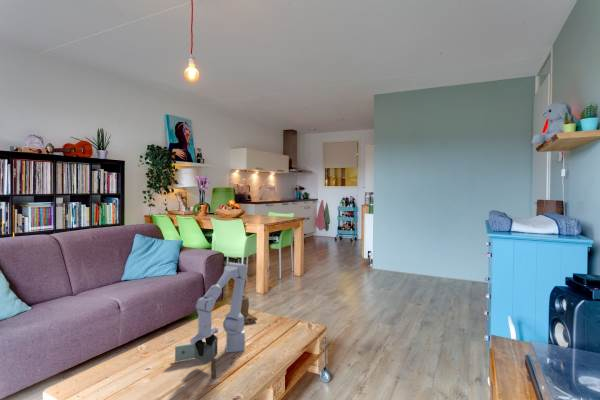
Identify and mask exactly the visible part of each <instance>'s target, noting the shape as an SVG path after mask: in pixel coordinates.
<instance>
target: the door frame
mask: <svg viewBox="0 0 600 400" xmlns="http://www.w3.org/2000/svg"><path fill="white" fill-rule="evenodd" d="M215 336H216V338H215V340H217V343H216V355H218V339H219V338H218V337H219V336H217V335H215ZM216 379H217V358H216V357H215V358H214V359H211V361H210V380H216Z"/></svg>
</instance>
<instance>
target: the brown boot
mask: <svg viewBox="0 0 600 400" xmlns="http://www.w3.org/2000/svg"><path fill="white" fill-rule="evenodd" d="M249 308H250V300H249V297H248V296H247V295H244V294H243V298H242V304H241V311H240V313H241V314H242V315H243V316H244V324H252V323H254V322H256V321H257V320H258V317H256V316H254V315H253V314H251V313H249Z"/></svg>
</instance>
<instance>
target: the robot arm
mask: <svg viewBox="0 0 600 400" xmlns="http://www.w3.org/2000/svg"><path fill="white" fill-rule="evenodd" d="M223 269H224V270H223V273H222V275H221V276H220V277H219V279H218V281H217V282H216V284H212V285H211V286H210V287H209V289H207V291H206V292H205V294H203V296H202V297H200V298H199V297H198V299H197V301H196V303H195V305H194V306H195V309H196V310H197V311H196V312H197V314H198V315H197V316H198V319H197V320H198V321H197V322H198V323H197V324H198V325H197V326H198V327H197V328H198V331H197V333H196V334H195V335H194V336H193V337H192V338H190V343H189V344H195V346H196V348H197V351H198V355H199V356H203V349H204V344H205V342H204V341H206V344H207V345H210V346H212V345H213V342H214V340H215V338H216V336H217V335H215V334H218V333H219V328H217V327H213V328H212V311H213V310H214V308H215V304H216V301H217V299H218V298H219V297H220V295H221V294H222V293H223V292H222V291H223V288H224V287H225V285H227V283H229V281H230V280H231V279H233V280H234V284H233V290H232V296H231V302H230V308H229V309H230V310H229V312H228V313H226V314H225V318H224V319H223V324H222V327H223V329H224V331H225V333H226V340H225V342H226V344H225V353H235V352H245V349H246V348H245V347H246V337H245V336H246V335H245V334H246V332H245V330H244V329H245V323H244V316H243V315H242V314H241V313H240V311H241V304H242V298H243V295H244V291H245V285H246V284H245V282H246V280H247V275H248V274H247V273H248V267H247V265H246V264H245V263H238V262H232V261H228V262H227V264H226V265H225V266H224V268H223ZM203 340H204V341H203Z"/></svg>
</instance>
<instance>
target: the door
mask: <svg viewBox="0 0 600 400" xmlns="http://www.w3.org/2000/svg"><path fill="white" fill-rule="evenodd" d="M203 342H205V344H206V340H204V341H203ZM216 343H217V344H218V341H217V340H214V342H213V345H212V346H213V352H214V356H215V355H217V354H216ZM193 359H195V344H191V343H186V344H179V345H175V346H174V362H180V361H181V362H182V361H186V360H193Z"/></svg>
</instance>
